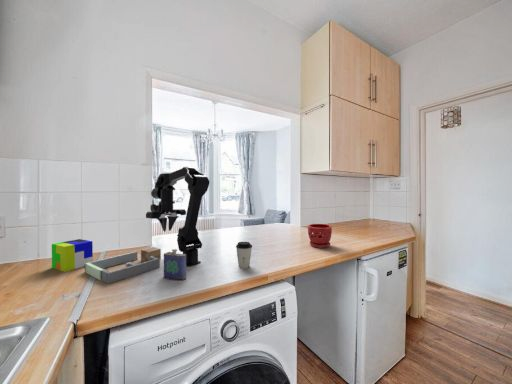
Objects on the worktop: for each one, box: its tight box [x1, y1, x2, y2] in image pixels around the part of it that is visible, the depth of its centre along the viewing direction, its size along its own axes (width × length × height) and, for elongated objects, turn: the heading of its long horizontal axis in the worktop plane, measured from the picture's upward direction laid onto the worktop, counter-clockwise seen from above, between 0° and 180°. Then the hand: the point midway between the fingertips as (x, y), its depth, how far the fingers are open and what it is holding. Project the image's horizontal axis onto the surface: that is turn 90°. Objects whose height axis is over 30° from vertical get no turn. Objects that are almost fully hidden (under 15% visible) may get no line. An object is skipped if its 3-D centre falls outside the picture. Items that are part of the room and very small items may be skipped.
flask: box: [163, 248, 187, 281], centre depth 81 cm, size 9×3×11 cm, turn 74°
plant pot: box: [307, 223, 333, 249], centre depth 127 cm, size 13×13×12 cm
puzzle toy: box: [51, 238, 94, 273], centre depth 94 cm, size 10×10×10 cm
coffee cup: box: [235, 241, 253, 269], centre depth 93 cm, size 7×7×10 cm
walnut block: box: [140, 246, 162, 262], centre depth 102 cm, size 6×6×5 cm
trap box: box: [84, 251, 161, 284], centre depth 90 cm, size 19×20×4 cm
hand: (167, 230), depth 109 cm, fingers open, 3 cm apart
